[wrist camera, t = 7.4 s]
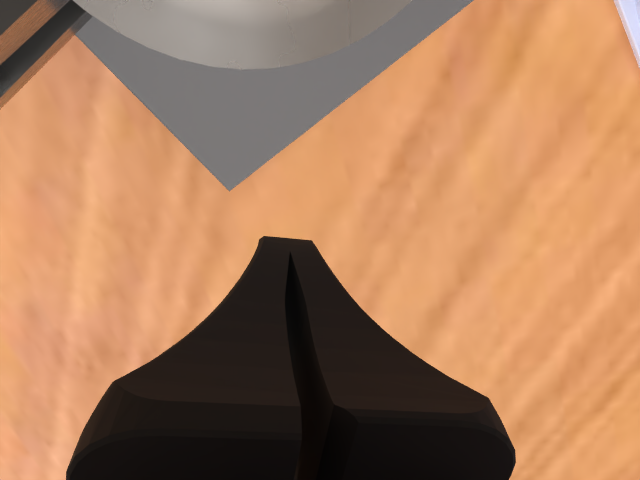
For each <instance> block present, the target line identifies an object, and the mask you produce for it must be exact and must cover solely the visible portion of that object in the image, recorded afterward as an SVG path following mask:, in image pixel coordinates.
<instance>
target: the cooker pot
mask: <svg viewBox="0 0 640 480" xmlns="http://www.w3.org/2000/svg"><path fill="white" fill-rule="evenodd" d="M92 17H93V16H92V15H91V14H89V13H88V12H86V11H85V10H84V9H83V8H81V7H80V6H79V5H78V4H77V3H75V2H74V1H73V0H70V1H69V2H68V3H67V4H66V5H65V6H63V7H62V8H61V9H60V10H59V11H58V12H57V13H56V14H55V15H54V16H53V17H52V18H50V19H49V20H48V21H47V22H46V23H45V24H44V25H43V26H42V27H41V28H40V29H39V30H38V31H36V32H35V33H34V34H33V35H32V36H31V37H30V38H29V39H28V40H27V41H26V42H25V43H23V44H22V45H21V46H20V47H19V48H18V49H17V50H16V51H15V52H14V53H13V54H12V55H10V56H9V57H8V58H7V59H6V60H5V61H4V62H3V63H2V64H1V65H0V109H1V108H2V107H3V106H4V105H5V104H6V103H7V102H8V101H9V100H10V99H11V98H12V97H13V96H14V95H15V94H16V93H17V92H18V91H19V90H20V89H21V88H22V87H23V86H24V85H25V84H26V83H27V82H28V81H29V80H30V79H31V78H32V77H33V76H34V75H35V74H36V73H37V72H38V71H39V70H40V69H41V68H42V67H43V66H44V65H45V64H46V63H47V62H48V61H49V60H50V59H51V58H52V57H53V56H54V55H55V54H56V53H57V52H58V51H59V50H60V49H61V48H62V47H63V46H64V45H65V44H66V43H67V42H68V41H69V40H70V39H71V38H72V37H73V36H74V35H75V34H76V33H77V32H78V31H79V30H80V29H81V28H82V27H83V26H84V25H85V24H86V23H87V22H88V21H89V20H90V19H91V18H92Z"/></svg>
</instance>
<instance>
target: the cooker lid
mask: <svg viewBox="0 0 640 480" xmlns="http://www.w3.org/2000/svg"><path fill="white" fill-rule="evenodd" d="M69 1H70V0H0V65H1V64H2V63H3V62H4V61H5V60H6V59H7V58H8V57H9V56H10V55H12V54H13V53H14V52H15V51H16V50H17V49H18V48H19V47H20V46H21V45H22V44H23V43H25V42H26V41H27V40H28V39H29V38H30V37H31V36H32V35H33V34H34V33H35V32H36V31H38V30H39V29H40V28H41V27H42V26H43V25H44V24H45V23H46V22H47V21H48V20H49V19H50V18H52V17H53V16H54V15H55V14H56V13H57V12H58V11H59V10H60V9H61V8H62V7H63V6H65V5H66V4H67V3H68V2H69ZM73 1H74V2H75V3H77V4H78V5H79V6H80V7H81V8H83V9H84V10H85V11H86V12H88V13H89V14H91V15H92V16H94V17H95V18H97V19H98V20H100V21H101V22H103V23H104V24H106V25H108V26H109V27H111V28H112V29H114V30H115V31H117V32H118V33H120V34H122V35H124V36H126V37H128V38H130V39H132V40H134V41H136V42H138V43H140V44H142V45H144V46H146V47H148V48H150V49H153V50H156V51H158V52H161V53H164V54H167V55H169V56H172V57H175V58H178V59H180V60H185V61H189V62H193V63H198V64H202V65H207V66H211V67H221V68H231V69H242V70H243V69H269V68H277V67H283V66H289V65H294V64H300V63H304V62H307V61H310V60H313V59H316V58H319V57H323V56H326V55H329V54H332V53H334V52H336V51H338V50H340V49H342V48H344V47H346V46H348V45H350V44H352V43H355V42H357V41H359V40H360V39H362V38H363V37H365V36H366V35H368V34H370V33H371V32H373V31H374V30H376V29H377V28H379V27H380V26H382V25H383V24H385V23H386V22H387V21H389V20H390V19H391V18H392V17H393V16H395V15H396V14H397V13H398V12H399V11H400V10H402V9H403V8H404V7H405V6H406V5H408V4H409V3H410V2H411V1H412V0H73Z"/></svg>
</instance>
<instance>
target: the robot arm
mask: <svg viewBox="0 0 640 480" xmlns="http://www.w3.org/2000/svg"><path fill="white" fill-rule="evenodd" d="M614 2H615V5H616V8H617V10H618V13H619V16H620V18H621V21H622V23H623V26H624V29H625V31H626V34H627V36H628V39H629V42H630V44H631V47H632V50H633V52H634V55H635V57H636V60H637V63H638V65H639V68H640V0H614ZM515 463H516V459H515V449H514V447H513V445H512V443H511V441H510V438H509V436H508V434H507V432H506V430H505V427H504V425H503V423H502V421H501V419H500V417H499V415H498V414H497V412H496V410H495V408H494V407H493V405H492V403H491V401H490V400H489V398H488V397H486V396H484V395H482V394H480V393H478V392H476V391H475V390H473V389H471V388H469V387H467V386H465V385H463V384H461V383H459V382H458V381H456V380H454V379H452V378H450V377H448V376H447V375H445V374H444V373H442V372H440V371H439V370H437V369H436V368H434V367H433V366H431V365H429V364H428V363H426V362H425V361H423V360H422V359H420V358H419V357H417V356H416V355H415V354H413V353H412V352H410V351H409V350H408V349H407V348H405V347H404V346H403V345H401V344H400V343H399V342H398V341H396V340H395V339H394V338H392V337H391V336H390V335H389V334H388V333H387V332H385V331H384V330H383V329H382V328H381V327H380V326H379V325H378V324H377V323H376V322H375V321H374V320H372V319H371V318H370V317H369V316H368V315H367V314H366V313H365V312H364V311H363V310H362V309H361V308H360V306H359V305H358V304H357V303H356V302H355V301H354V300H353V298H352V297H351V296H350V295H349V294H348V292H347V291H346V290H345V288H344V287H343V286H342V284H341V283H340V282H339V280H338V279H337V278H336V276H335V275H334V274H333V272H332V271H331V269H330V268H329V266H328V265H327V263H326V262H325V260H324V259H323V257H322V256H321V254H320V252H319V251H318V249H317V247H316V246H315V244H314V243H313V242H312V241H311V240H301V239H290V238H279V237H268V236H263V237H262V238H261V239H259V243H258V247H257V249H256V252H255V254H254V256H253V258H252V260H251V261H250V263H249V265H248V266H247V268H246V270H245V271H244V273H243V274H242V276H241V278H240V279H239V280H238V282H237V283H236V284H235V286H234V287H233V288H232V290H231V291H230V292H229V294H228V295H227V296H226V297H225V298H224V300H223V301H222V302H221V303H220V304H219V305H218V306H217V308H216V309H215V310H214V311H213V312H212V313H211V314H210V315H209V316H208V317H207V318H206V319H205V320H204V321H202V322H201V323H200V324H199V325H198V326H197V327H196V328H195V329H194V330H192V331H191V332H190V333H189V334H188V335H187V336H185V337H184V338H183V339H182V340H180V341H179V342H178V343H176V344H175V345H173V346H172V347H171V348H169V349H168V350H166V351H165V352H163V353H162V354H161V355H159V356H158V357H156V358H155V359H153V360H152V361H150V362H149V363H147V364H145V365H143V366H141V367H139V368H138V369H136V370H134V371H132V372H130V373H129V374H127V375H125V376H123V377H121V378H119V379H117V380H115V381H114V382H112V384H111V385H110V387H109V388H108V389H107V391H106V392H105V394H104V396H103V397H102V399H101V400H100V402H99V403H98V405H97V407H96V408H95V410H94V412H93V413H92V415H91V417H90V419H89V420H88V422H87V424H86V426H85V428H84V430H83V432H82V434H81V436H80V438H79V441H78V443H77V446H76V448H75V451H74V453H73V456H72V459H71V461H70V464H69V466H68V469H67V472H66V480H509V478H510V476H511V474H512V471H513V469H514V466H515Z"/></svg>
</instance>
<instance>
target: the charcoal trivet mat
mask: <svg viewBox="0 0 640 480" xmlns="http://www.w3.org/2000/svg"><path fill="white" fill-rule="evenodd" d="M472 1H473V0H412V1H411V2H410V3H409V4H408V5H406V6H405V7H404V8H403V9H402V10H400V11H399V12H398V13H397V14H396V15H395V16H393V17H392V18H391V19H390V20H389V21H387V22H386V23H385V24H383V25H382V26H380V27H379V28H377V29H376V30H374V31H373V32H371V33H370V34H368V35H366V36H365V37H363V38H362V39H360V40H359V41H357V42H355V43H352V44H350V45H348V46H346V47H344V48H342V49H340V50H338V51H336V52H334V53H332V54H329V55H326V56H323V57H319V58H316V59H313V60H310V61H307V62H304V63H300V64H294V65H289V66H283V67H277V68H269V69H243V70H242V69H231V68H221V67H211V66H207V65H202V64H198V63H193V62H189V61H185V60H180V59H178V58H175V57H172V56H169V55H167V54H164V53H161V52H158V51H156V50H153V49H150V48H148V47H146V46H144V45H142V44H140V43H138V42H136V41H134V40H132V39H130V38H128V37H126V36H124V35H122V34H120V33H118V32H117V31H115V30H114V29H112V28H111V27H109V26H108V25H106V24H104V23H103V22H101V21H100V20H98V19H97V18H95V17H94V16H93V17H92V18H91V19H90V20H89V21H88V22H87V23H86V24H85V25H84V26H83V27H82V28H81V29H80V30H79V31H78V32H77V33H76V34H75V35H76V36H77V37H78V38H79V39H80V40H81V41H82V42H83V43H84V44H85V45H86V46H87V47H88V48H89V49H90V50H91V51H92V52H93V53H94V54H95V55H96V56H97V57H98V58H99V59H100V60H101V61H102V62H103V63H104V65H105V66H106V67H107V68H108V69H109V70H110V71H111V72H112V73H113V74H114V75H115V76H116V77H117V78H118V79H119V80H120V81H121V82H122V83H123V84H124V85H125V86H126V87H127V88H128V89H129V90H130V91H131V92H132V93H133V94H134V95H135V96H136V97H137V98H138V99H139V100H140V101H141V102H142V103H143V104H144V105H145V106H146V107H147V108H148V109H149V110H150V111H151V112H152V113H153V114H154V115H155V116H156V117H157V118H158V119H159V120H160V121H161V122H162V123H163V124H164V125H165V126H166V127H167V128H168V129H169V130H170V131H171V133H172V134H173V135H174V136H175V137H176V138H177V139H178V140H179V141H180V142H181V143H182V144H183V145H184V146H185V147H186V148H187V149H188V150H189V151H190V152H191V153H192V154H193V155H194V156H195V157H196V158H197V159H198V160H199V161H200V162H201V163H202V164H203V165H204V166H205V167H206V168H207V169H208V170H209V171H210V172H211V173H212V174H213V175H214V176H215V177H216V178H217V179H218V180H219V181H220V182H221V183H222V184H223V185H224V186H225V187H226V188H227V189H228V190H229V191H230V190H232V189H233V188H234V187H235V186H237V185H238V184H239V183H240V182H242V181H243V180H244V179H246V178H247V177H248V176H249V175H251V174H252V173H253V172H255V171H256V170H257V169H258V168H260V167H261V166H262V165H264V164H265V163H266V162H267V161H269V160H270V159H271V158H272V157H274V156H275V155H276V154H278V153H279V152H280V151H281V150H283V149H284V148H285V147H287V146H288V145H289V144H290V143H292V142H293V141H294V140H296V139H297V138H298V137H299V136H301V135H302V134H303V133H304V132H306V131H307V130H308V129H310V128H311V127H312V126H313V125H315V124H316V123H317V122H319V121H320V120H321V119H322V118H324V117H325V116H326V115H328V114H329V113H330V112H331V111H333V110H334V109H335V108H336V107H338V106H339V105H340V104H342V103H343V102H344V101H345V100H347V99H348V98H349V97H351V96H352V95H353V94H354V93H356V92H357V91H358V90H360V89H361V88H362V87H363V86H365V85H366V84H367V83H368V82H370V81H371V80H372V79H374V78H375V77H376V76H377V75H379V74H380V73H381V72H383V71H384V70H385V69H386V68H388V67H389V66H390V65H392V64H393V63H394V62H395V61H397V60H398V59H399V58H400V57H402V56H403V55H404V54H406V53H407V52H408V51H409V50H411V49H412V48H413V47H415V46H416V45H417V44H418V43H420V42H421V41H422V40H424V39H425V38H426V37H427V36H429V35H430V34H431V33H432V32H434V31H435V30H436V29H438V28H439V27H440V26H441V25H443V24H444V23H445V22H447V21H448V20H449V19H450V18H452V17H453V16H454V15H456V14H457V13H458V12H459V11H461V10H462V9H463V8H464V7H466V6H467V5H468V4H470V3H471V2H472Z"/></svg>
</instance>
